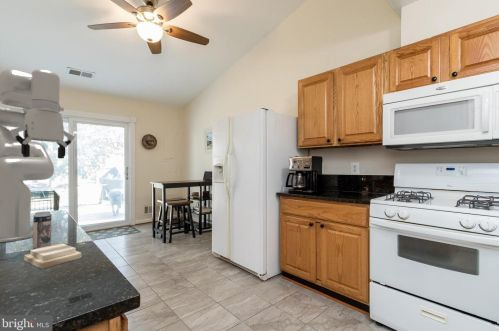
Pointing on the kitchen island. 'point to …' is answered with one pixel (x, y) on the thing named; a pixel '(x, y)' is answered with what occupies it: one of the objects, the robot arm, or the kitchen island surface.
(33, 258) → the stacking base
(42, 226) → the beer can
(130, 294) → the kitchen island surface
